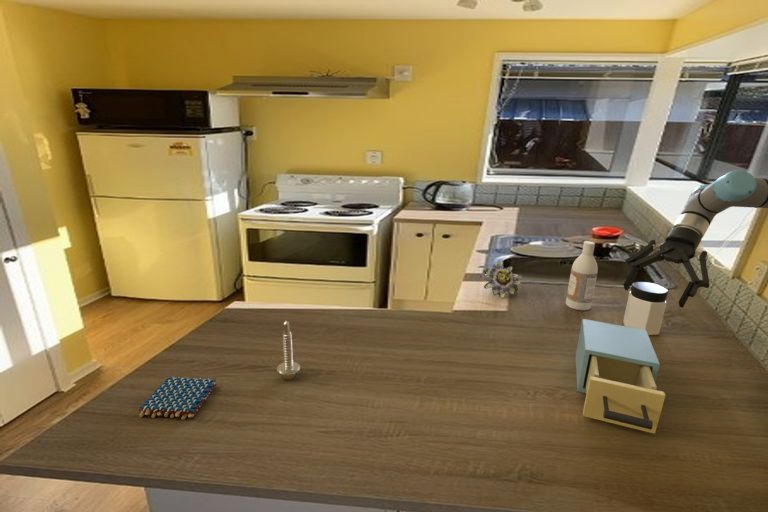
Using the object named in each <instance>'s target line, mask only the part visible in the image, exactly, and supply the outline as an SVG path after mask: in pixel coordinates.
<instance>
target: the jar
mask: <svg viewBox="0 0 768 512" xmlns="http://www.w3.org/2000/svg"><path fill="white" fill-rule="evenodd" d="M668 295H669V290H668V289H667V288H666V287H664V286H663V285H659V284H657V283H652V282H647V281H636V282H633V283H632V284H631V286H630V291H629V293H628V298H627V303H626V307H625V311H624V316H623V320H622V323H623V326H626V327H632V328H637V329H643V330H646V331H647V333H648V336H658V335H660V332H661V328H662V323H663V320H664V316H665V312H666V308H667V304H668V301H667V299H668Z"/></svg>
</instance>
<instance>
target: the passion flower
mask: <svg viewBox="0 0 768 512" xmlns="http://www.w3.org/2000/svg"><path fill="white" fill-rule="evenodd" d="M482 272H483V273H484V274H483V277H484V278H486V279H487V280H489V281H488V282H486V283H485V284H484V285H483V288H484V289H490V288H491V292H492V295H493V296H497V295H498V296H499V298H500V299H504V298H505V296H506V293H509V294H510V295H514V294H515V292H516V293H517V292H518V291H519V287H518V286H519V285H521V283H522V282H521V281H520V280H519V279H518V278H519V275H518V274H517V273H514V272H513V266H508V267H505V265H502V262H501V261H497V264H496V265H495V266H494V267H492V268H490V267H486V268H485V269H483V271H482Z"/></svg>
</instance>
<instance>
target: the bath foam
mask: <svg viewBox="0 0 768 512" xmlns="http://www.w3.org/2000/svg"><path fill="white" fill-rule="evenodd" d="M595 246H596V242H594V241H590V240H584V242H583V244H582V250H581V254H579V256H578V257H576V259H574V261H573V263H572V266H571V270H570V275H569V282H568V287H567V292H566V299H565V304H566V306H567V307H569V308H570V309H572V310H575V311H589V310H590V309H591V307H592V303H593V298H594V295H595V287H596V283H597V277H598V271H599V267H598V263H597V261H596V258H595V256H594V252H595Z"/></svg>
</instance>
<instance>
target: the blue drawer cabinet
mask: <svg viewBox="0 0 768 512" xmlns="http://www.w3.org/2000/svg"><path fill="white" fill-rule="evenodd" d="M578 336H579V337H578V341H577V347H576V352H575V356H574V357H575V374H576V391H577V392H578V393H583V394H586V384H585V375H586V370H587V365H588V360H589V355H590V354H591V355H596V356H601V357H606V358H611V359H616V360H621V361H626V362H631V363H636V364H641V365H646V366H649V367H650V370H651V373H652V376H653V378H654V381H655V382H656V380H657V376H658V373H659V370H660V369H659V368H660V365H661V363H660V362H659V359H658V356H657V354H656V350H655V348H654V346H653V344H652V341H651V338H650V335H648V333H647V331H646V330H643V329H637V328H632V327H626V326H624V325H619V324H615V323H608V322H603V321H597V320H591V319H585V318H582V320H581V326H580V331H579V335H578Z"/></svg>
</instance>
